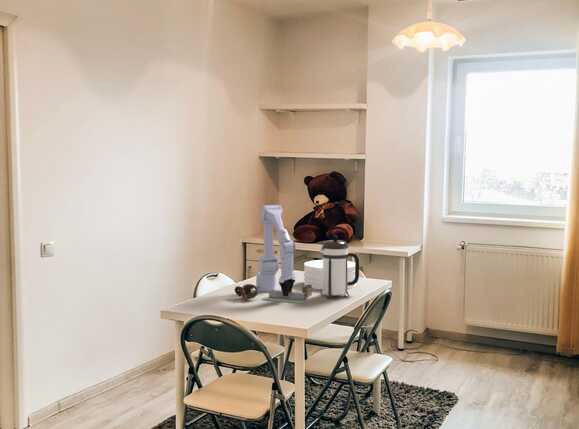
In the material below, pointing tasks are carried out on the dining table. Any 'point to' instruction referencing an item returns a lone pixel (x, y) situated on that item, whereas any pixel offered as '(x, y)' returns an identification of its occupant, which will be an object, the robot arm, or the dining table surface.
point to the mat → (283, 300)
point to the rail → (291, 295)
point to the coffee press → (337, 267)
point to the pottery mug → (246, 291)
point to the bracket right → (307, 290)
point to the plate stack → (316, 274)
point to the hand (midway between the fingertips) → (287, 295)
